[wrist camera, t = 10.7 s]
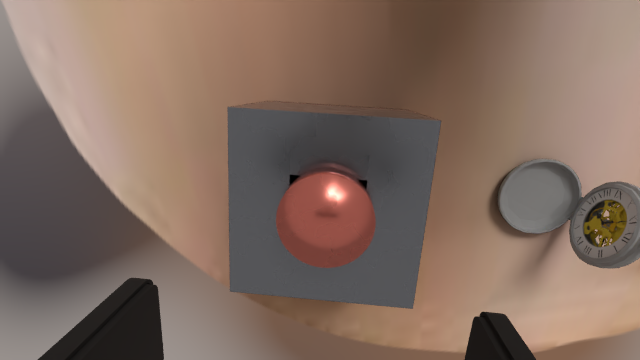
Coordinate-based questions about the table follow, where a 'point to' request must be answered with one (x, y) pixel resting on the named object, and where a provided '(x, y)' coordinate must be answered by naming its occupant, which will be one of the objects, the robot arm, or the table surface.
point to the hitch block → (338, 153)
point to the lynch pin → (326, 218)
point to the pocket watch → (574, 211)
